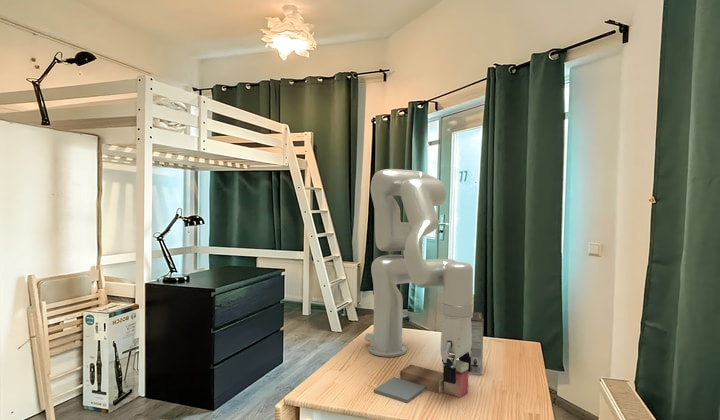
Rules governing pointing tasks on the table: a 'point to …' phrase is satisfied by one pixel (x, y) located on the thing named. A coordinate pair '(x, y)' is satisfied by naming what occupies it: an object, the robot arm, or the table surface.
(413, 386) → the slate pad
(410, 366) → the bronze rectangular slab
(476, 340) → the coffee box
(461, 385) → the small box
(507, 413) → the table surface
